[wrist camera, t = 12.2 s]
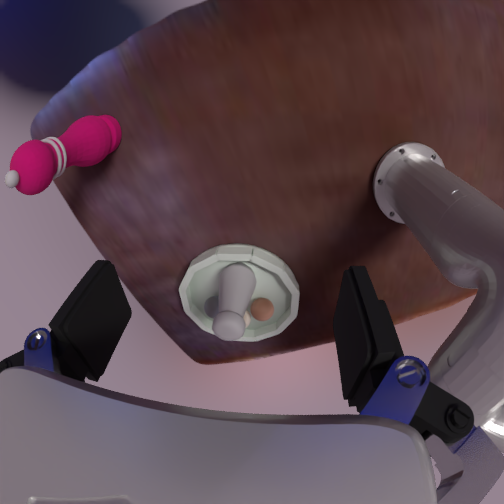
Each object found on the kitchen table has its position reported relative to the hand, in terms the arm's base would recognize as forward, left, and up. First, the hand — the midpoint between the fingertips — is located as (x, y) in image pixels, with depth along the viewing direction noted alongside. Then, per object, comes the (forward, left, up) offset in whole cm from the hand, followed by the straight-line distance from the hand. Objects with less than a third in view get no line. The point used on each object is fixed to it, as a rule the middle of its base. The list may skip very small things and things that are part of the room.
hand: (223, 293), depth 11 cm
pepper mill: (+23, -4, -28) cm, 37 cm away
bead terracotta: (0, +28, -26) cm, 38 cm away
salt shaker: (+4, +20, -28) cm, 34 cm away
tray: (+4, +25, -28) cm, 38 cm away
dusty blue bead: (+8, +28, -26) cm, 39 cm away
